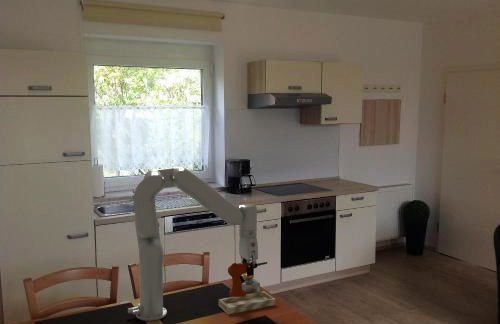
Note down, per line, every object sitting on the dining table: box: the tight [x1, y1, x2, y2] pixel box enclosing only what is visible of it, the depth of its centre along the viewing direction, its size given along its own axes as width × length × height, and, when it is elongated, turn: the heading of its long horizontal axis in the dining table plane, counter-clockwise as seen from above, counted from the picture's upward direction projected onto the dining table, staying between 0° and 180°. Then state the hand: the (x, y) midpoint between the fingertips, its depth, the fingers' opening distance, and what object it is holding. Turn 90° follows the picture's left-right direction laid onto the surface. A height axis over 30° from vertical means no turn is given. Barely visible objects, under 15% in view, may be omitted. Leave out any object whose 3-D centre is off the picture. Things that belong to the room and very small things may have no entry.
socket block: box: [242, 277, 261, 294], centre depth 215 cm, size 8×8×6 cm
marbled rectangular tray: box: [218, 291, 276, 315], centre depth 202 cm, size 23×10×3 cm, turn 117°
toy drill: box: [227, 261, 268, 298], centre depth 201 cm, size 5×19×15 cm, turn 106°
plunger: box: [242, 272, 255, 284], centre depth 215 cm, size 5×5×9 cm
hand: (247, 273), depth 200 cm, fingers closed on toy drill, 4 cm apart
